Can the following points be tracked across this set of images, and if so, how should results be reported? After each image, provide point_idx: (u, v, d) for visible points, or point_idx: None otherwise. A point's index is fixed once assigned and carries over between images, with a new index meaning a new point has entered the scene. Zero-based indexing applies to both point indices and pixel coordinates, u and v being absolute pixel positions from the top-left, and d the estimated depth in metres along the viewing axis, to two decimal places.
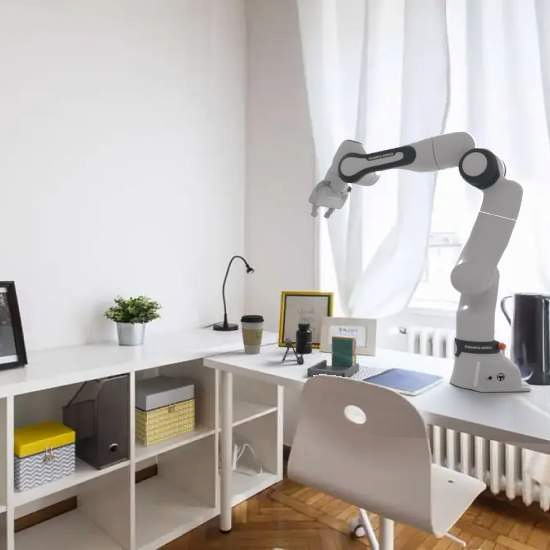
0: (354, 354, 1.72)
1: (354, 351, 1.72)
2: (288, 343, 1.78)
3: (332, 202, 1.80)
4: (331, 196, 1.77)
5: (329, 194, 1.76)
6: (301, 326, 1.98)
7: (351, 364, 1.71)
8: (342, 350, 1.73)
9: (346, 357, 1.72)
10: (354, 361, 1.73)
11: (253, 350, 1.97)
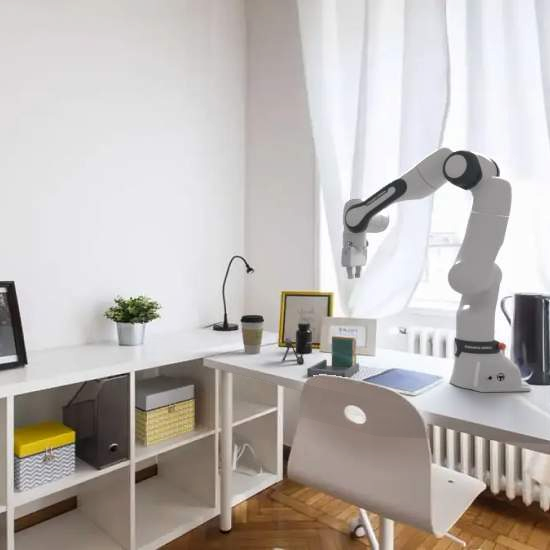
0: (354, 354, 1.72)
1: (354, 351, 1.72)
2: (288, 343, 1.78)
3: (359, 260, 1.87)
4: (357, 254, 1.84)
5: (355, 252, 1.83)
6: (301, 326, 1.98)
7: (351, 364, 1.71)
8: (342, 350, 1.73)
9: (346, 357, 1.72)
10: (354, 361, 1.73)
11: (253, 350, 1.97)
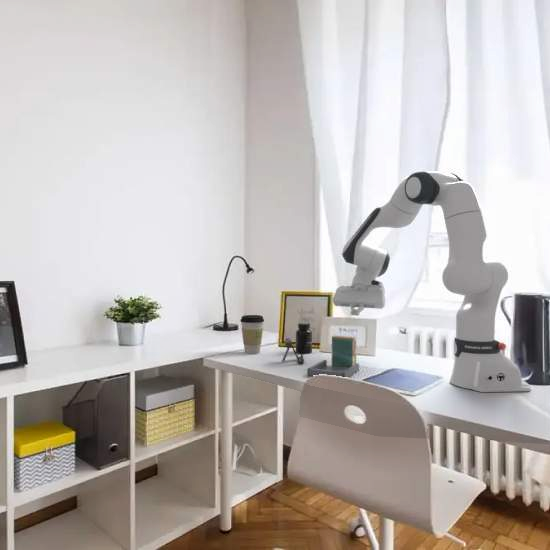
0: (354, 354, 1.72)
1: (354, 351, 1.72)
2: (288, 343, 1.78)
3: (360, 297, 1.87)
4: (356, 293, 1.90)
5: (352, 292, 1.91)
6: (301, 326, 1.98)
7: (351, 364, 1.71)
8: (342, 350, 1.73)
9: (346, 357, 1.72)
10: (354, 361, 1.73)
11: (253, 350, 1.97)
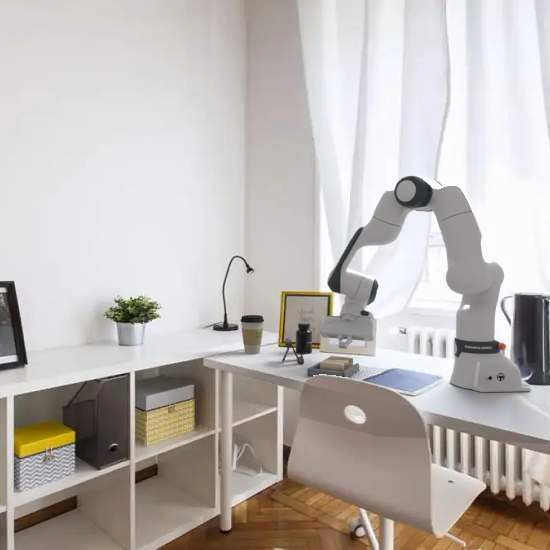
0: (348, 366, 1.67)
1: (347, 367, 1.66)
2: (288, 343, 1.78)
3: (349, 329, 1.75)
4: (344, 324, 1.78)
5: (340, 322, 1.79)
6: (301, 326, 1.98)
7: None
8: None
9: None
10: (350, 364, 1.69)
11: (253, 350, 1.97)
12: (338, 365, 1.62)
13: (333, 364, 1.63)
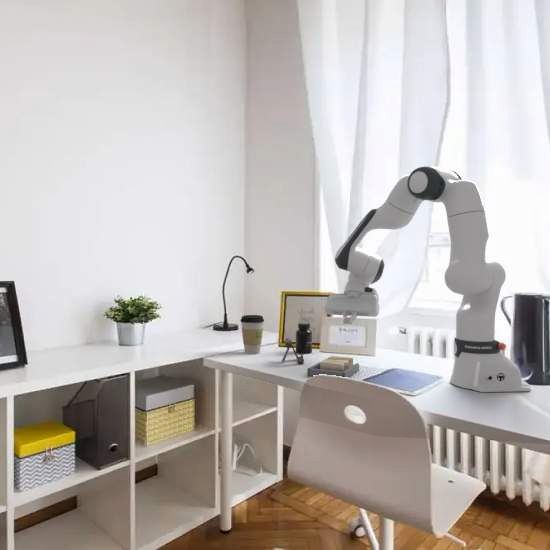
0: (348, 366, 1.67)
1: (347, 367, 1.66)
2: (288, 343, 1.78)
3: (353, 305, 1.79)
4: (348, 301, 1.82)
5: (344, 299, 1.83)
6: (301, 326, 1.98)
7: None
8: None
9: None
10: (350, 364, 1.69)
11: (253, 350, 1.97)
12: (338, 365, 1.62)
13: (333, 364, 1.63)
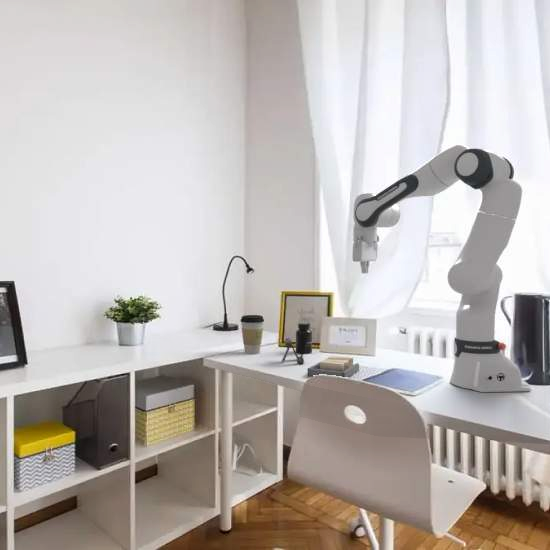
0: (348, 366, 1.67)
1: (347, 367, 1.66)
2: (288, 343, 1.78)
3: (370, 255, 1.86)
4: (368, 249, 1.84)
5: (366, 247, 1.82)
6: (301, 326, 1.98)
7: None
8: None
9: None
10: (350, 364, 1.69)
11: (253, 350, 1.97)
12: (338, 365, 1.62)
13: (333, 364, 1.63)
